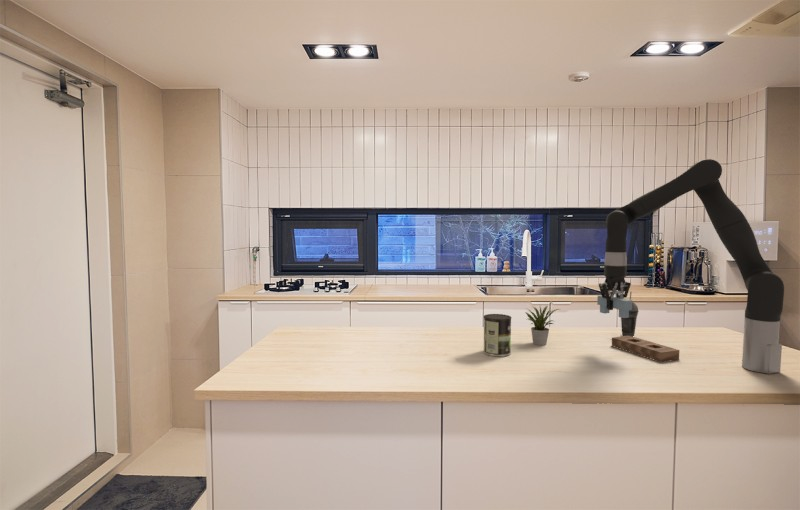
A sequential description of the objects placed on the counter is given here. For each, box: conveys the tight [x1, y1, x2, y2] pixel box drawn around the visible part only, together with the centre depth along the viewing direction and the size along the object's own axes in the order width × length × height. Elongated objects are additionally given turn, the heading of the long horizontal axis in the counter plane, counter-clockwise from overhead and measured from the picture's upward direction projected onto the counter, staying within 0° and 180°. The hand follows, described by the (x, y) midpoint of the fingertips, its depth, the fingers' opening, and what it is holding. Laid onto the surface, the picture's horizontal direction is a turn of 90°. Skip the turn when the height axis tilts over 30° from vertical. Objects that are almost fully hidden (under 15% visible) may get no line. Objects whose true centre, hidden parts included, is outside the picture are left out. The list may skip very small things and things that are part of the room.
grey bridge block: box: [597, 295, 633, 319], centre depth 167 cm, size 13×4×6 cm, turn 20°
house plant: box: [525, 304, 560, 346], centre depth 181 cm, size 14×14×16 cm
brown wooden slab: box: [611, 335, 680, 363], centre depth 168 cm, size 22×9×4 cm, turn 20°
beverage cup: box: [620, 291, 639, 337], centre depth 191 cm, size 7×7×20 cm
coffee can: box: [482, 313, 512, 358], centre depth 167 cm, size 10×10×14 cm
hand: (614, 309), depth 167 cm, fingers closed on grey bridge block, 3 cm apart
